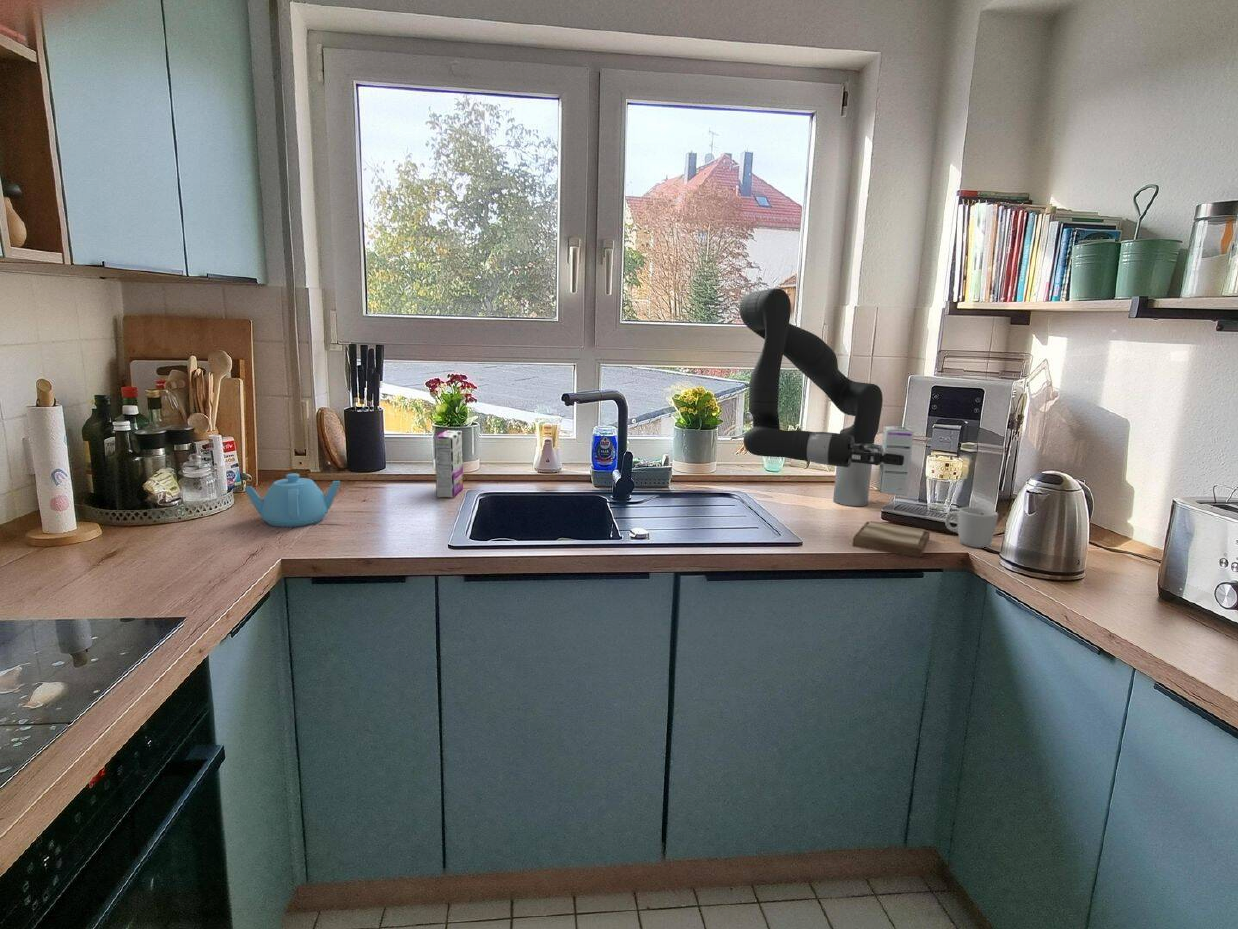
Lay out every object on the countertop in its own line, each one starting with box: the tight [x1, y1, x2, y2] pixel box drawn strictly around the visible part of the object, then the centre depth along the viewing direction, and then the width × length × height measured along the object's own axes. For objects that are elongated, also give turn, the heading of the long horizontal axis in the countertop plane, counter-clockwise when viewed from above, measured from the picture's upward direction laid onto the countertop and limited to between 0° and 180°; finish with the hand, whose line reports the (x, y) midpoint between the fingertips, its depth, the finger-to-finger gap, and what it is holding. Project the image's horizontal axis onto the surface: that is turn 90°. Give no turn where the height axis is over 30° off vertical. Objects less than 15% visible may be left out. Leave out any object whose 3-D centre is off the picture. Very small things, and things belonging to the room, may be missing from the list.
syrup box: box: [876, 425, 915, 496], centre depth 157 cm, size 6×6×14 cm
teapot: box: [243, 472, 341, 528], centre depth 161 cm, size 15×15×11 cm
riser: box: [852, 520, 931, 559], centre depth 160 cm, size 16×14×2 cm
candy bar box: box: [434, 429, 464, 499], centre depth 191 cm, size 11×5×16 cm, turn 179°
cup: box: [944, 506, 999, 549], centre depth 161 cm, size 11×8×8 cm
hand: (906, 458), depth 156 cm, fingers closed on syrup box, 7 cm apart
